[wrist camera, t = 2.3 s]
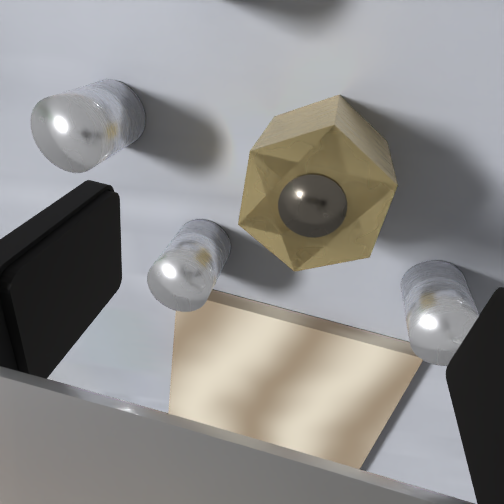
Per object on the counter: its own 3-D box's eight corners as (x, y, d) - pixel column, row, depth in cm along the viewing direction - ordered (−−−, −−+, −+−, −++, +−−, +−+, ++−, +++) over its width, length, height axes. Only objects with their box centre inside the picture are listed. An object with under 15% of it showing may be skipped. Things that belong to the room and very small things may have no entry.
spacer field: (752, -15, 12) (898, -21, 9) (498, 343, 21) (525, 406, 18) (70, -132, 15) (-13, -172, 11) (95, 237, 23) (52, 276, 20)
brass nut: (399, 107, 16) (414, 143, 12) (356, 227, 20) (357, 289, 15) (280, 82, 17) (256, 108, 13) (257, 203, 20) (232, 256, 16)
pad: (421, 345, 22) (423, 358, 22) (348, 474, 30) (348, 488, 29) (183, 281, 24) (177, 292, 23) (171, 421, 31) (167, 432, 31)
